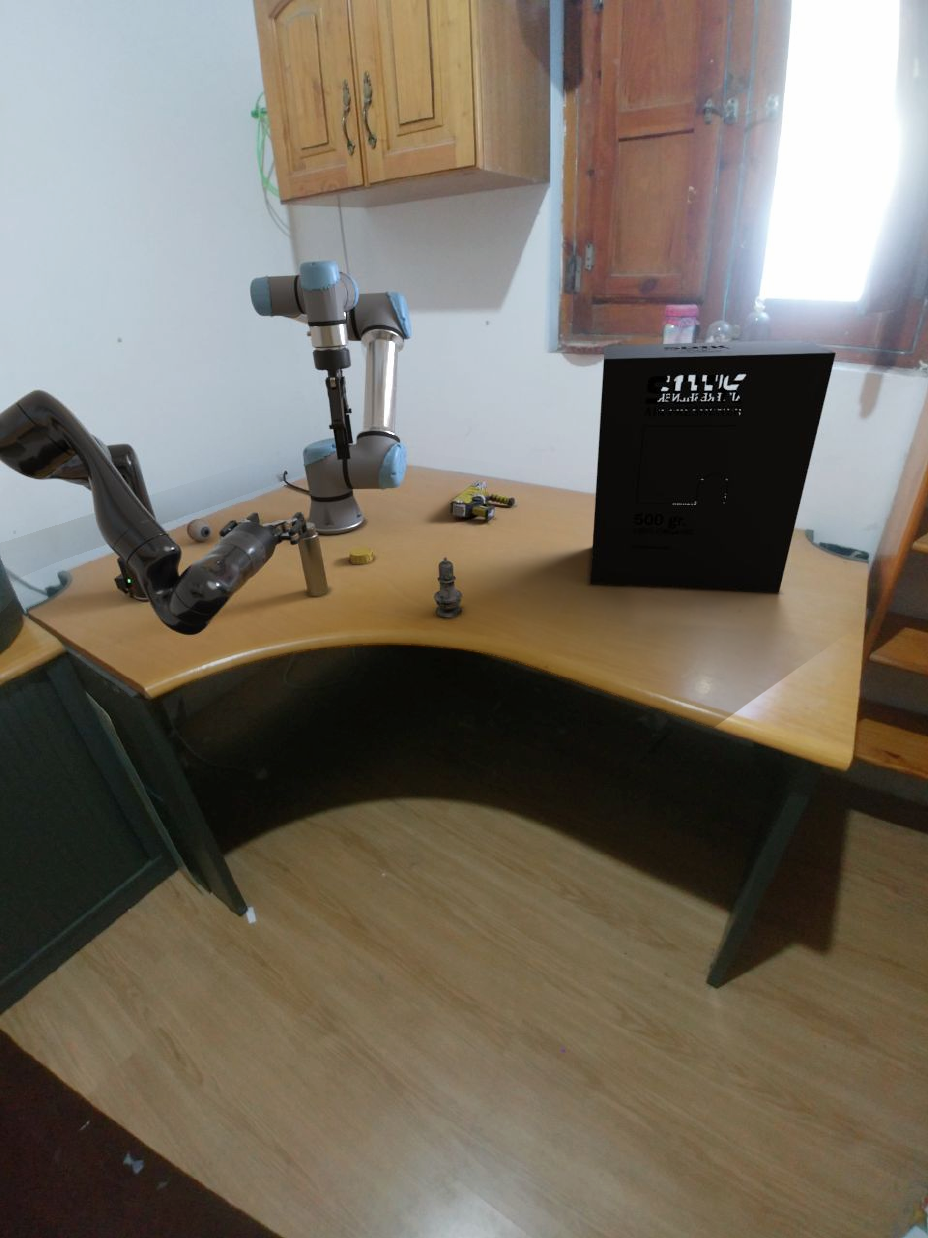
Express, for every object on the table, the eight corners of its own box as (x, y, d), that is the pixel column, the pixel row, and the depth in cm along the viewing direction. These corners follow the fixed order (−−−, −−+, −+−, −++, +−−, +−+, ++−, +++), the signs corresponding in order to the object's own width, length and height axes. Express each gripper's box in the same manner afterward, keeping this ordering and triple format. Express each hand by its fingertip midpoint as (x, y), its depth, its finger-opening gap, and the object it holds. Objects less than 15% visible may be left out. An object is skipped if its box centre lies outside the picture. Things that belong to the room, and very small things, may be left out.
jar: (308, 597, 132) (294, 530, 124) (308, 589, 136) (294, 523, 128) (328, 594, 132) (316, 528, 125) (328, 586, 136) (316, 520, 128)
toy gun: (523, 485, 181) (476, 478, 185) (501, 509, 161) (448, 500, 165) (521, 500, 184) (475, 493, 187) (499, 525, 163) (447, 517, 167)
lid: (364, 553, 151) (363, 544, 150) (377, 559, 148) (376, 550, 147) (346, 560, 148) (344, 551, 147) (359, 566, 145) (357, 557, 144)
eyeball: (200, 546, 160) (194, 525, 157) (185, 542, 163) (179, 521, 160) (219, 538, 165) (213, 517, 162) (204, 535, 168) (198, 514, 165)
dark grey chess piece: (460, 618, 120) (456, 564, 114) (431, 617, 121) (426, 562, 115) (465, 604, 125) (462, 551, 119) (438, 603, 126) (434, 550, 120)
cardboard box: (758, 552, 140) (802, 339, 117) (778, 592, 123) (835, 352, 100) (592, 546, 147) (604, 345, 125) (590, 583, 130) (603, 358, 108)
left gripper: (280, 530, 96) (311, 497, 110) (195, 531, 98) (237, 498, 112) (289, 572, 100) (318, 535, 114) (208, 573, 102) (247, 536, 116)
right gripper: (317, 343, 135) (332, 439, 145) (305, 355, 113) (324, 467, 124) (351, 340, 135) (363, 436, 146) (345, 353, 114) (361, 464, 125)
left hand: (278, 517), depth 113 cm, fingers open, 8 cm apart
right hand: (345, 451), depth 135 cm, fingers open, 13 cm apart
